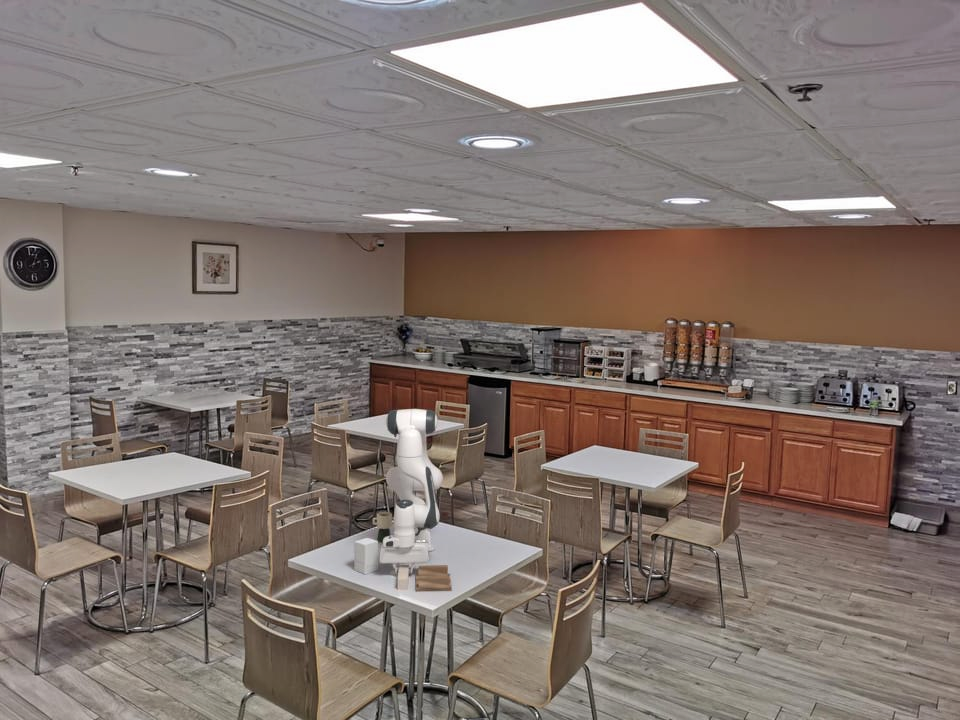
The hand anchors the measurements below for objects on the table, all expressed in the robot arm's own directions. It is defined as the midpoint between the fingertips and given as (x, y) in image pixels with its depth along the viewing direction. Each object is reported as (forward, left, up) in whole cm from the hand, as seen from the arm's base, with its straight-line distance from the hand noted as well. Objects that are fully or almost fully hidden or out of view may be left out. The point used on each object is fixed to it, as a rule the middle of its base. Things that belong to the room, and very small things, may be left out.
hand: (403, 572), depth 294 cm
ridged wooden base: (+8, +12, -2) cm, 15 cm away
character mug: (-46, -10, -2) cm, 47 cm away
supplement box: (-8, -16, -2) cm, 18 cm away
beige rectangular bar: (+5, 0, -2) cm, 5 cm away
